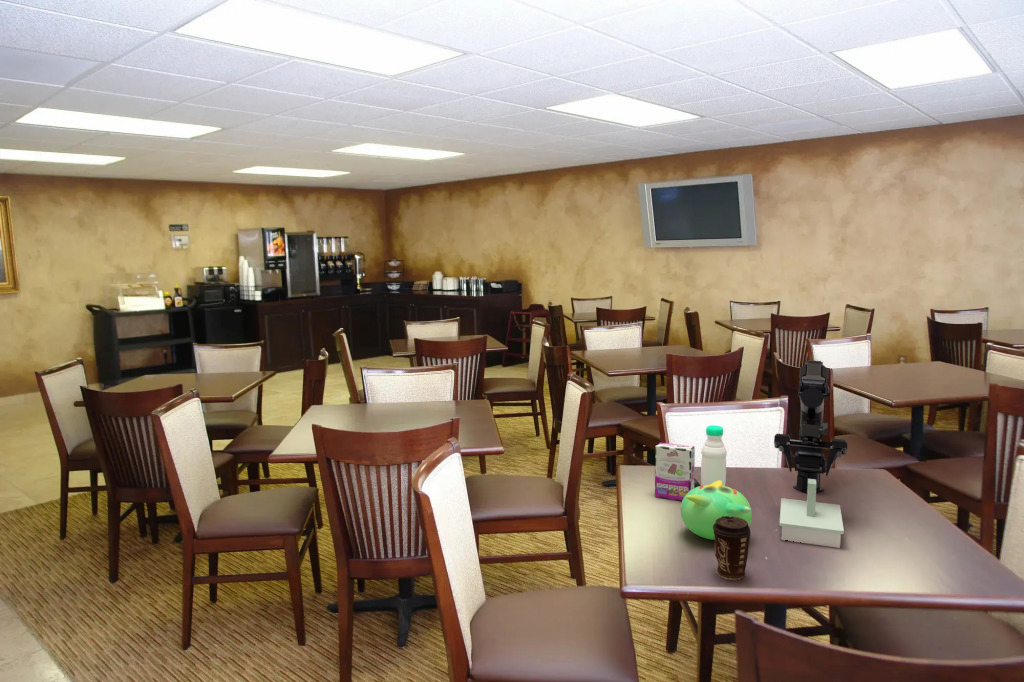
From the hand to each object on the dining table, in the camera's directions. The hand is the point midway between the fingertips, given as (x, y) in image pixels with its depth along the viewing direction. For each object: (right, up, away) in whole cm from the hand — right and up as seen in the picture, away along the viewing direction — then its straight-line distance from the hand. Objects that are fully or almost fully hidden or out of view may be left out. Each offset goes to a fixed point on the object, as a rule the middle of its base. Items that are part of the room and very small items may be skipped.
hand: (808, 473), depth 195 cm
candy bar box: (-32, -12, +22) cm, 40 cm away
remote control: (-25, -9, +40) cm, 48 cm away
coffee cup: (-30, -19, -28) cm, 45 cm away
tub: (-1, -15, -4) cm, 15 cm away
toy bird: (-28, -16, -8) cm, 33 cm away
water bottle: (-23, -13, +12) cm, 29 cm away
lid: (-1, -12, -4) cm, 12 cm away
